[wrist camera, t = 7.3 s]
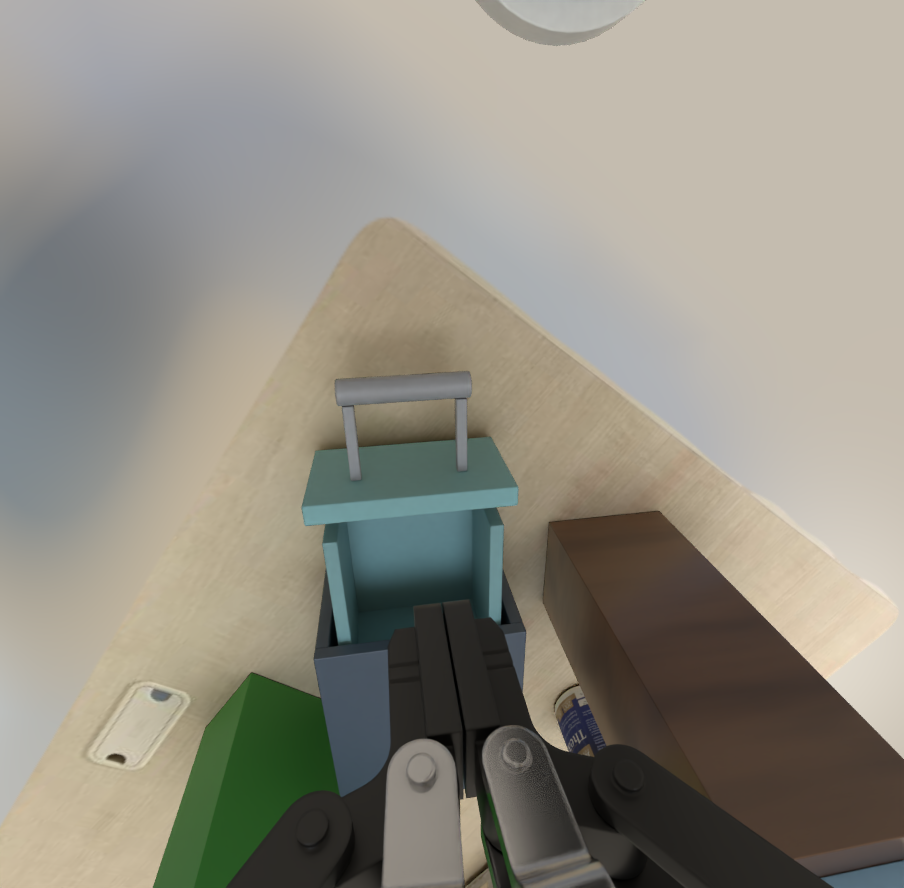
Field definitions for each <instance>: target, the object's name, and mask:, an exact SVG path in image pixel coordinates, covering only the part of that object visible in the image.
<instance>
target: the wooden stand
mask: <svg viewBox="0 0 904 888" xmlns="http://www.w3.org/2000/svg"><path fill="white" fill-rule="evenodd" d="M543 604H544V606H545V609H546V611H547V613H548V615H549V618H550V620H551V622H552V624H553V627H554V629H555V631H556V633H557V636H558V638H559V640H560V642H561V645H562V647H563V649H564V651H565V654H566V656H567V658H568V660H569V663H570V665H571V667H572V669H573V672H574V674H575V676H576V678H577V681H578V683H579V685H580V687H581V690H582V692H583V694H584V696H585V699H586V701H587V703H588V705H589V708H590V710H591V712H592V714H593V716H594V719H595V721H596V723H597V725H598V728H599V730H600V732H601V734H602V737H603V739H604V741H605V743H606V746H608V745H613V744H622V745H627V746H630V747H633V748H635V749H637V750H639V751H641V752H642V753H644V754H645V755H647V756H648V757H649V758H651V759H652V760H654V761H655V762H656V763H658V764H659V765H661V766H662V767H664V768H665V769H666V770H668V771H669V772H671V773H672V774H673V775H675V776H676V777H678V778H679V779H681V780H682V781H683V782H685V783H686V784H688V785H689V786H690V787H692V788H693V789H695V790H696V791H698V792H699V793H700V794H702V795H703V796H705V797H706V798H707V799H709V800H710V801H712V802H713V803H715V804H716V805H717V806H719V807H720V808H722V809H723V810H724V811H726V812H727V813H729V814H730V815H732V816H733V817H734V818H736V819H737V820H739V821H740V822H741V823H743V824H744V825H746V826H747V827H749V828H750V829H751V830H753V831H754V832H756V833H757V834H758V835H760V836H761V837H763V838H764V839H766V840H767V841H768V842H770V843H771V844H773V845H774V846H775V847H777V848H778V849H780V850H781V851H783V852H784V853H785V854H787V855H788V856H790V857H791V858H792V859H794V860H795V861H797V862H798V863H800V864H801V865H802V866H804V867H805V868H807V869H808V870H809V871H811V872H812V873H814V874H815V875H817V876H818V877H819V878H822V877H826V876H831V875H836V874H840V873H845V872H850V871H854V870H859V869H864V868H868V867H873V866H878V865H882V864H887V863H892V862H896V861H901V860H904V759H903V758H902V757H901V756H900V755H899V754H898V753H897V752H896V751H895V750H894V749H893V748H892V747H891V746H890V745H889V744H888V743H887V742H886V741H885V740H884V739H883V738H882V737H881V736H880V735H879V734H878V732H877V731H876V730H874V728H873V727H872V726H871V725H870V724H869V723H868V722H867V721H866V720H865V719H864V718H863V717H862V716H861V715H860V714H859V713H858V712H857V711H856V710H855V709H854V708H853V707H852V706H851V705H850V704H849V703H848V702H847V701H846V700H845V699H844V698H843V697H842V696H841V695H840V694H839V693H838V692H837V691H836V690H835V689H834V688H833V687H832V686H831V685H830V684H829V683H828V682H827V681H826V680H825V679H824V678H823V677H822V676H821V675H820V674H819V673H818V672H817V671H816V670H815V669H814V668H813V667H812V666H811V664H810V663H809V662H808V661H807V660H806V659H805V658H804V657H803V656H802V655H801V654H800V653H799V652H798V651H797V650H796V649H795V648H794V647H793V646H792V645H791V644H790V643H789V642H788V641H787V640H786V639H785V638H784V637H783V636H782V635H781V634H780V633H779V632H778V631H777V630H776V629H775V628H774V627H773V626H772V625H771V624H770V623H769V622H768V621H767V620H766V619H765V618H764V617H763V616H762V615H761V614H760V613H759V612H758V611H757V610H756V609H755V608H754V607H753V606H752V605H751V604H750V603H749V602H748V601H747V600H746V599H745V598H744V597H743V595H742V594H741V593H740V592H739V591H738V590H737V589H736V588H735V587H734V586H733V585H732V584H731V583H730V582H729V581H728V580H727V579H726V578H725V577H724V576H723V575H722V574H721V573H720V572H719V571H718V570H717V569H716V568H715V567H714V566H713V565H712V564H711V563H710V562H709V561H708V560H707V559H706V558H705V557H704V556H703V555H702V554H701V553H700V552H699V551H698V550H697V549H696V548H695V547H694V546H693V545H692V544H691V543H690V542H689V541H688V540H687V539H686V538H685V537H684V536H683V535H682V534H681V533H680V532H679V531H678V530H677V529H676V528H675V526H674V525H673V524H672V523H671V522H670V521H669V520H668V519H667V518H666V517H665V516H664V515H663V514H662V513H661V512H660V511H655V512H645V513H636V514H626V515H616V516H606V517H597V518H587V519H577V520H568V521H558V522H549V531H548V543H547V556H546V569H545V582H544V595H543Z"/></svg>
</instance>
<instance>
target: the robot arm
mask: <svg viewBox="0 0 904 888" xmlns="http://www.w3.org/2000/svg"><path fill="white" fill-rule="evenodd" d="M413 610H414V625H415V627H409V628H401V629H395V630H394V633H393V635H392V637H391V639H390V642H389V644H388V646H387V648H388V679H389V709H390V740H391V742H390V751H389V755H388V758H387V760H386V762H385V764H384V766H383V768H382V769H381V770H380V772H379V773H378V774H377V775H376V776H375V777H374V778H373V779H372V780H371V781H370V782H368V783H367V784H365V785H363V786H362V787H360V788H358V789H356V790H354V791H352V792H351V793H349V794H347V795H345V796H343V797H341V796H339V795H338V794H336V793H334V792H331V791H325V790H320V791H314V792H310V793H308V794H306V795H304V796H302V797H300V798H299V799H297V800H296V801H295V802H294V803H293V804H292V805H291V806H290V807H289V808H288V809H287V810H286V811H285V813H284V814H283V815H282V816H281V818H280V819H279V820H278V821H277V823H276V824H275V825H274V827H273V828H272V829H271V830H270V832H269V833H268V834H267V835H266V837H265V838H264V839H263V841H262V842H261V843H260V844H259V846H258V847H257V848H256V849H255V851H254V852H253V853H252V855H251V856H250V857H249V858H248V860H247V861H246V862H245V863H244V865H243V866H242V867H241V869H240V870H239V871H238V872H237V874H236V875H235V876H234V877H233V879H232V880H231V881H230V883H229V884H228V885H227V886H226V888H465V883H464V871H463V858H462V844H461V831H460V800H461V799H463V780H464V787H465V793H466V798H471V797H477V800H478V806H479V812H480V817H481V838H482V843H483V847H484V851H485V855H486V859H487V864H488V868H489V872H490V876H491V880H492V884H493V888H834V887H832V886H831V885H829V884H828V883H826V882H825V881H824V880H822V879H821V878H819V877H818V876H817V875H815V874H814V873H812V872H811V871H809V870H808V869H807V868H805V867H804V866H802V865H801V864H800V863H798V862H797V861H795V860H794V859H792V858H791V857H790V856H788V855H787V854H785V853H784V852H783V851H781V850H780V849H778V848H777V847H775V846H774V845H773V844H771V843H770V842H768V841H767V840H766V839H764V838H763V837H761V836H760V835H758V834H757V833H756V832H754V831H753V830H751V829H750V828H749V827H747V826H746V825H744V824H743V823H741V822H740V821H739V820H737V819H736V818H734V817H733V816H732V815H730V814H729V813H727V812H726V811H724V810H723V809H722V808H720V807H719V806H717V805H716V804H715V803H713V802H712V801H710V800H709V799H707V798H706V797H705V796H703V795H702V794H700V793H699V792H698V791H696V790H695V789H693V788H692V787H690V786H689V785H688V784H686V783H685V782H683V781H682V780H681V779H679V778H678V777H676V776H675V775H673V774H672V773H671V772H669V771H668V770H666V769H665V768H664V767H662V766H661V765H659V764H658V763H656V762H655V761H654V760H652V759H651V758H649V757H648V756H647V755H645V754H644V753H642V752H641V751H639V750H637V749H635V748H633V747H630V746H627V745H622V744H613V745H608V746H606V747H604V748H602V749H601V750H599V751H598V753H597V754H596V755H595V757H592V756H587V755H581V754H576V753H571V752H566V751H563V750H560V749H558V748H556V747H554V746H552V745H550V744H549V743H548V742H546V741H545V740H544V739H543V738H542V737H541V736H540V735H539V733H538V732H537V731H536V729H535V728H534V726H533V724H532V721H531V718H530V715H529V712H528V709H527V705H526V702H525V699H524V696H523V693H522V689H521V686H520V683H519V680H518V677H517V673H516V670H515V667H514V665H513V661H512V657H511V654H510V652H509V648H508V645H507V641H506V638H505V635H504V632H503V630H502V629H501V628H500V627H499V626H498V625H497V624H496V622H495V621H494V620H493V619H492V618H491V617H489V618H480V619H474V615H473V611H472V607H471V603H470V600H469V599H466V600H458V601H449V602H442V609H441V604H440V603H433V604H425V605H417V606H413Z"/></svg>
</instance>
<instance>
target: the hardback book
mask: <svg viewBox="0 0 904 888" xmlns="http://www.w3.org/2000/svg"><path fill="white" fill-rule="evenodd" d="M320 790H325V791H331V792H334V793H336V794H338V795H339V796H340V793H339V788H338V783H337V778H336V773H335V768H334V762H333V757H332V752H331V747H330V742H329V737H328V731H327V726H326V721H325V716H324V711H323V705H322V700H321V699H320V698H317V697H314V696H312V695H309V694H307V693H304V692H301V691H299V690H296V689H293V688H291V687H288V686H285V685H283V684H280V683H278V682H275V681H272V680H270V679H267V678H264V677H262V676H259V675H257V674H254V673H251V674H250V675H249V676H248V677H247V679H246V680H245V681H244V682H243V683H242V685H241V686H240V687H239V688H238V689H237V691H236V692H235V693H234V694H233V696H232V697H231V698H230V699H229V700H228V702H227V703H226V704H225V705H224V706H223V708H222V709H221V710H220V711H219V712H218V714H217V715H216V716H215V717H214V718H213V720H212V721H211V722H210V723H209V724H208V726H207V727H206V728H205V731H204V734H203V737H202V740H201V743H200V746H199V749H198V752H197V755H196V758H195V761H194V764H193V767H192V770H191V773H190V776H189V779H188V782H187V785H186V788H185V791H184V794H183V798H182V801H181V804H180V807H179V810H178V813H177V816H176V819H175V822H174V825H173V828H172V831H171V834H170V837H169V840H168V843H167V846H166V849H165V852H164V855H163V858H162V861H161V864H160V867H159V870H158V873H157V877H156V880H155V883H154V886H153V888H226V886H227V885H228V884H229V883H230V881H231V880H232V879H233V877H234V876H235V875H236V874H237V872H238V871H239V870H240V869H241V867H242V866H243V865H244V863H245V862H246V861H247V860H248V858H249V857H250V856H251V855H252V853H253V852H254V851H255V849H256V848H257V847H258V846H259V844H260V843H261V842H262V841H263V839H264V838H265V837H266V835H267V834H268V833H269V832H270V830H271V829H272V828H273V827H274V825H275V824H276V823H277V821H278V820H279V819H280V818H281V816H282V815H283V814H284V813H285V811H286V810H287V809H288V808H289V807H290V806H291V805H292V804H293V803H294V802H295V801H296V800H297V799H299V798H300V797H302V796H304V795H306V794H308V793H310V792H314V791H320Z"/></svg>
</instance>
